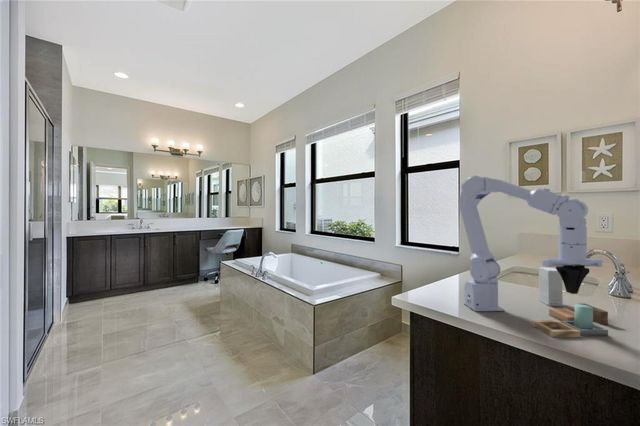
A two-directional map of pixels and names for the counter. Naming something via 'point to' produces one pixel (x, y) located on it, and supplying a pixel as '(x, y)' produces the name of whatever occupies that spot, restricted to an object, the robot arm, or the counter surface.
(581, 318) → the teal capsule
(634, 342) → the counter surface
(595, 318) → the stop block
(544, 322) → the socket block
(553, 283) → the skincare box
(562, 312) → the tan cardboard block
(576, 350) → the counter surface
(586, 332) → the tray
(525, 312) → the counter surface
